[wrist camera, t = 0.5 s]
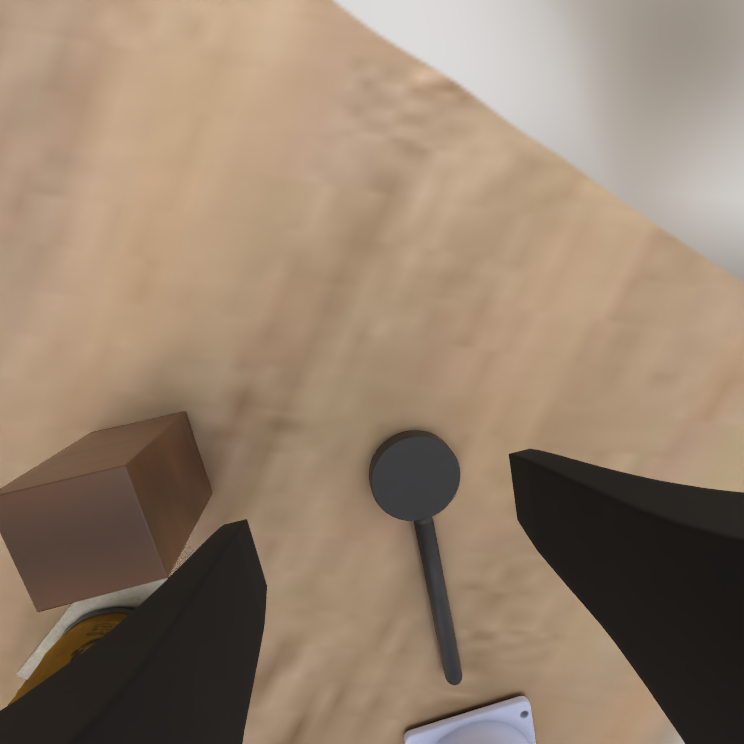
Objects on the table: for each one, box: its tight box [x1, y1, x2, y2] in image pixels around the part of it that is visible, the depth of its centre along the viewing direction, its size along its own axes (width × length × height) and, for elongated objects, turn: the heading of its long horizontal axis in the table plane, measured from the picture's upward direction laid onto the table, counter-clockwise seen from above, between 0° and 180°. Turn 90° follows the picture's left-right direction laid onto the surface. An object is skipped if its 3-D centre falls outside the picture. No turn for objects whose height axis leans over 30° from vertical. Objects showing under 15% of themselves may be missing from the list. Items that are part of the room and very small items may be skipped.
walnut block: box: [0, 412, 212, 612], centre depth 16 cm, size 4×4×6 cm
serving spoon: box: [369, 431, 462, 685], centre depth 22 cm, size 16×5×1 cm, turn 12°
